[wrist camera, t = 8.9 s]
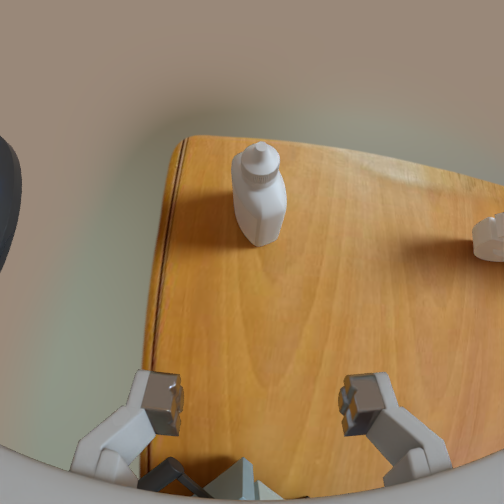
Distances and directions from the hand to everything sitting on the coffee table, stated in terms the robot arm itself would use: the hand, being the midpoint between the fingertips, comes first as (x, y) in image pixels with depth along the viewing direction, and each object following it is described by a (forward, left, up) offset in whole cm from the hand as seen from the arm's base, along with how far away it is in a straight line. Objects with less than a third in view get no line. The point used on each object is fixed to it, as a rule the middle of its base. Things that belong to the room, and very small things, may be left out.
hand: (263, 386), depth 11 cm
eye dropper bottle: (-9, +9, -17) cm, 21 cm away
